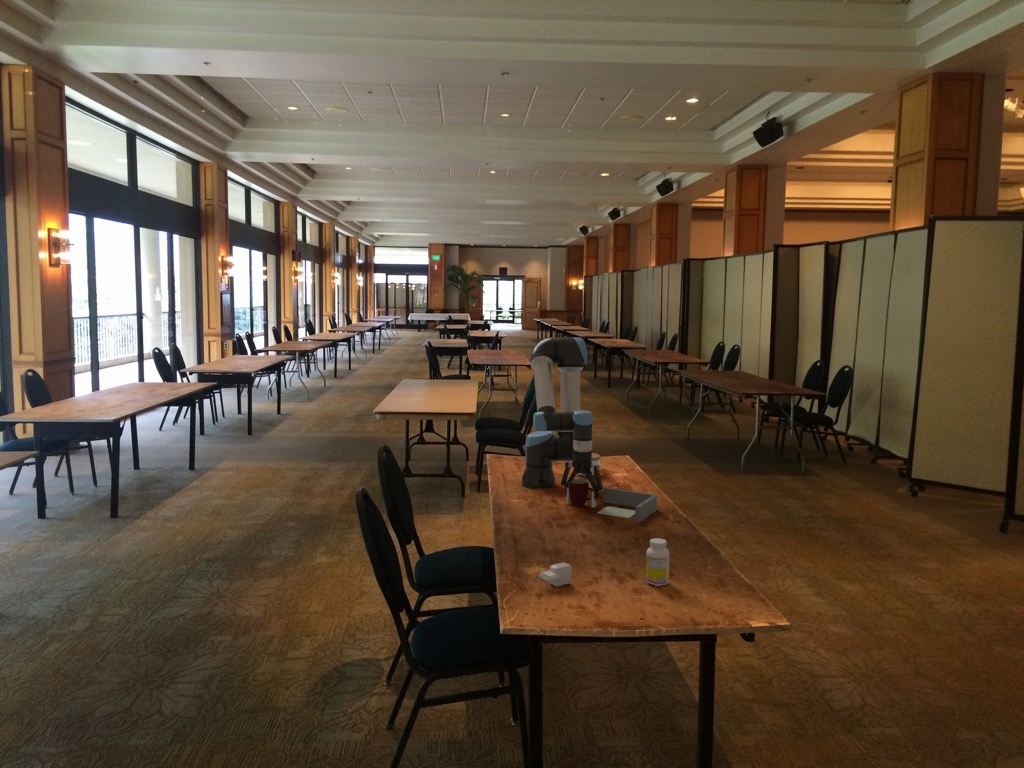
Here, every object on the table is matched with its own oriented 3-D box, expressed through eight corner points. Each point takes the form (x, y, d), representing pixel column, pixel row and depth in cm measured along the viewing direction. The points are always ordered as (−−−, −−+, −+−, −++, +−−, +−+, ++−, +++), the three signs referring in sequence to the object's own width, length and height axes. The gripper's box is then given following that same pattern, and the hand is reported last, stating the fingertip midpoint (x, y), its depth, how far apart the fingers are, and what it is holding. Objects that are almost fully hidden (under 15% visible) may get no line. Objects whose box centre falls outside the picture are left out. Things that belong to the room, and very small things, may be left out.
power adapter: (541, 593, 215) (541, 573, 214) (532, 587, 219) (532, 567, 218) (573, 585, 220) (573, 565, 220) (563, 579, 224) (563, 560, 224)
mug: (593, 503, 305) (594, 478, 304) (595, 508, 297) (596, 484, 296) (567, 502, 305) (567, 478, 304) (568, 508, 297) (568, 483, 296)
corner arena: (583, 513, 290) (584, 498, 290) (604, 501, 307) (605, 487, 307) (638, 523, 279) (639, 507, 278) (657, 509, 296) (657, 494, 296)
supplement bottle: (652, 577, 227) (653, 535, 226) (672, 582, 223) (674, 540, 221) (641, 583, 222) (642, 541, 220) (661, 589, 218) (663, 546, 216)
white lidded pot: (566, 474, 353) (567, 450, 351) (585, 469, 361) (585, 447, 360) (587, 479, 344) (587, 455, 342) (605, 474, 352) (606, 451, 351)
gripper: (552, 448, 301) (551, 503, 304) (605, 455, 289) (603, 511, 292) (560, 445, 307) (560, 498, 310) (612, 451, 296) (611, 507, 299)
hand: (581, 505), depth 301 cm, fingers closed on mug, 10 cm apart
